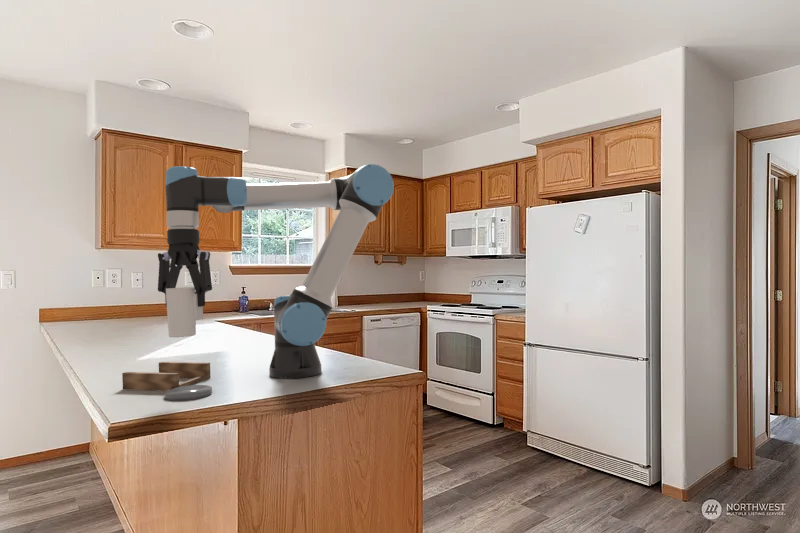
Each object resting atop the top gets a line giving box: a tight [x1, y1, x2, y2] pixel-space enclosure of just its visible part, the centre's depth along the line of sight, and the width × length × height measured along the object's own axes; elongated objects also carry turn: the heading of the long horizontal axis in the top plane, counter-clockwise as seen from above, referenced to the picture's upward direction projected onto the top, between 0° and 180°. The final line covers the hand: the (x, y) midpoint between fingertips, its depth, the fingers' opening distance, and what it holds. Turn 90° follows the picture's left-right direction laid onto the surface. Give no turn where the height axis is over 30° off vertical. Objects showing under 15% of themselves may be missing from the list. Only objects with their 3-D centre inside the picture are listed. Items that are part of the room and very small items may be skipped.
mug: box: [165, 286, 197, 338], centre depth 129 cm, size 10×7×12 cm, turn 3°
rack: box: [121, 361, 211, 392], centre depth 142 cm, size 16×16×4 cm
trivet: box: [164, 384, 213, 402], centre depth 129 cm, size 11×11×1 cm
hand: (185, 319), depth 129 cm, fingers closed on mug, 7 cm apart
